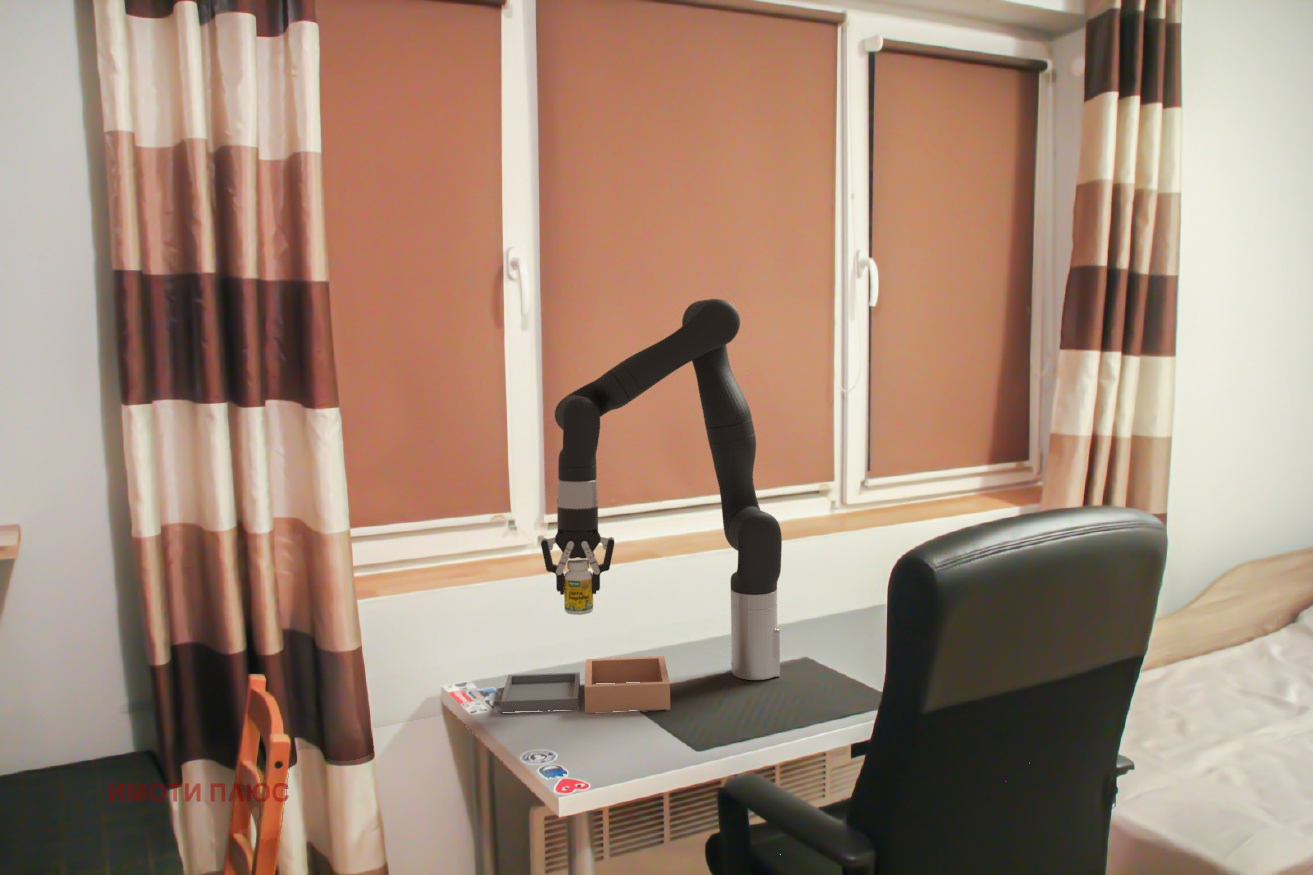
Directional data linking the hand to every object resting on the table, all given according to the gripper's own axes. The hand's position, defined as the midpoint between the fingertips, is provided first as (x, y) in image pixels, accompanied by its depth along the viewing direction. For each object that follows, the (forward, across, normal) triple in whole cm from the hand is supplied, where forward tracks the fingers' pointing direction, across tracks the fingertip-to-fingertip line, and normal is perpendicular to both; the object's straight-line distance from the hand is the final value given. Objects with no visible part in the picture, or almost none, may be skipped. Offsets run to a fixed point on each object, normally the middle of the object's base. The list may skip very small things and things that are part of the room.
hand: (578, 592), depth 179 cm
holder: (+20, -9, 0) cm, 22 cm away
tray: (+20, +7, -1) cm, 22 cm away
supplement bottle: (+4, 0, 0) cm, 4 cm away
